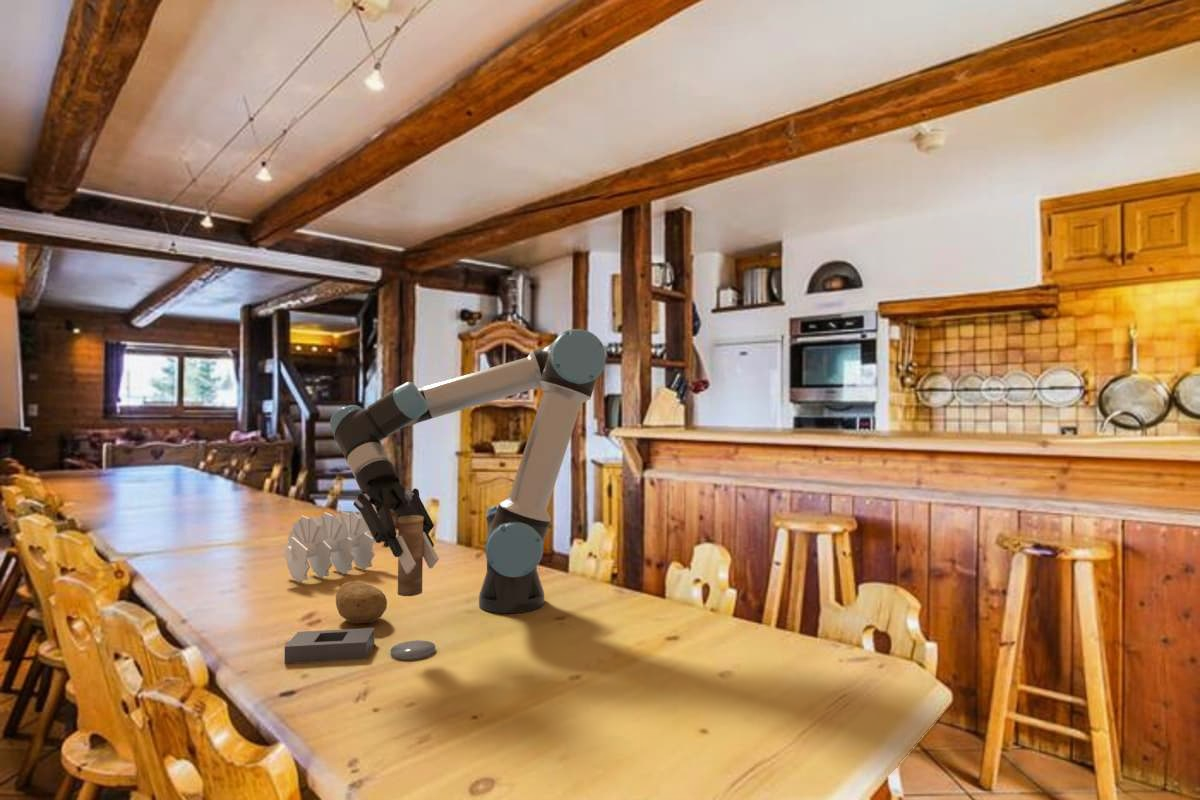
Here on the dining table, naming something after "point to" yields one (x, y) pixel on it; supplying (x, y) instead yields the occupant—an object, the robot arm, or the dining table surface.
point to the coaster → (412, 650)
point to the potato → (360, 602)
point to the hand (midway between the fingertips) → (422, 566)
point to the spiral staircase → (328, 544)
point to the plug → (414, 540)
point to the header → (329, 645)
